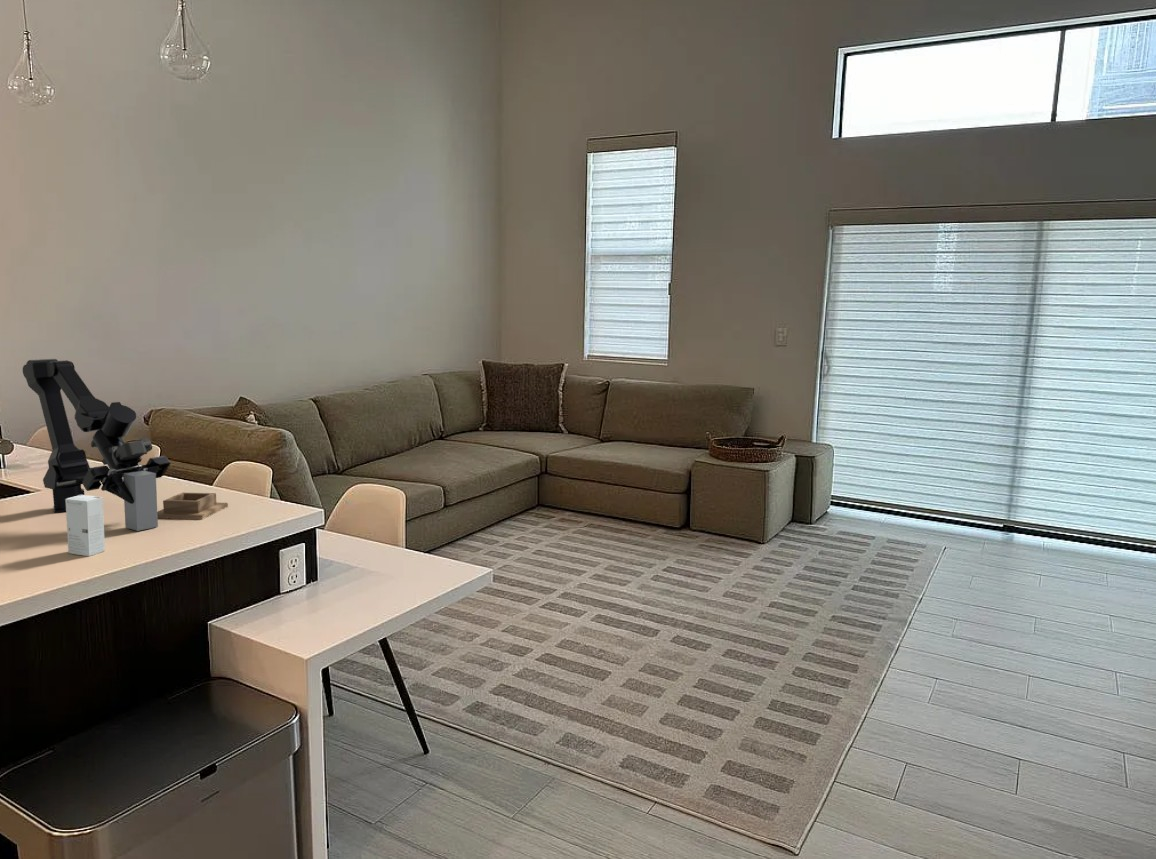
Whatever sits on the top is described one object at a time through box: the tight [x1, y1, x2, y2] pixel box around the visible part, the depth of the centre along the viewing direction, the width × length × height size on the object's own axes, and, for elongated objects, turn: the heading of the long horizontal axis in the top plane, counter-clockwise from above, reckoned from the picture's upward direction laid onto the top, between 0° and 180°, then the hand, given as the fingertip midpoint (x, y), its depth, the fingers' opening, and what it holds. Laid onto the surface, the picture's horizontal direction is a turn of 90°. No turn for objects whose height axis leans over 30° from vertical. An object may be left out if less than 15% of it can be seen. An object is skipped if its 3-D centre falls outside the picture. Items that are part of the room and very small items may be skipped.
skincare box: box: [65, 494, 106, 557], centre depth 173 cm, size 6×4×12 cm
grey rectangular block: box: [122, 471, 159, 532], centre depth 192 cm, size 5×5×13 cm
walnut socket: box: [157, 492, 229, 520], centre depth 207 cm, size 13×13×4 cm
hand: (143, 500), depth 191 cm, fingers closed on grey rectangular block, 5 cm apart
